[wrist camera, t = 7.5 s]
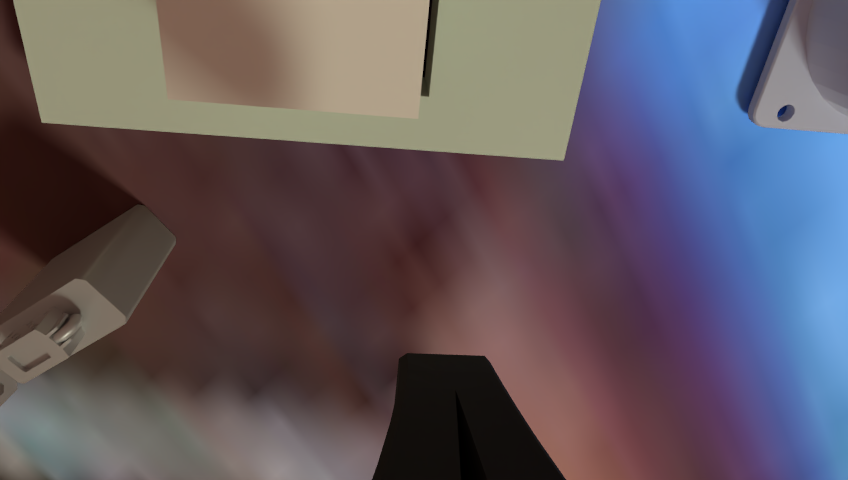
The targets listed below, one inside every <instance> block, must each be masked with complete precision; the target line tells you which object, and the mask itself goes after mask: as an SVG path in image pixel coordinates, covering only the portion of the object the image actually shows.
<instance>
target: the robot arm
mask: <svg viewBox="0 0 848 480" xmlns="http://www.w3.org/2000/svg"><path fill="white" fill-rule="evenodd" d="M785 105H787V110H786V111H785V113H784V114H783V115H781V116H780V117H777V114H778V111H779V110H780V108H782V107H783V106H785ZM748 116H749V119H750V120H751V121H752V122H753V123H755V124H756V125H758V126H761V127H767V128H779V129H792V130H804V131H816V132H829V133H841V134H848V0H789V3H788V6H787V8H786V11H785V14H784V16H783V19H782V21H781V24H780V27H779V29H778V32H777V35H776V37H775V40H774V42H773V45H772V48H771V50H770V53H769V56H768V58H767V61H766V63H765V66H764V69H763V71H762V74H761V76H760V79H759V82H758V84H757V87H756V90H755V92H754V95H753V97H752V100H751V103H750V105H749V109H748ZM372 480H566V479H565V478H564V476H563V475H562V473H561V472H560V470H559V469H558V468H557V466H556V465H555V463H554V462H553V461H552V459H551V458H550V456H549V455H548V453H547V452H546V451H545V449H544V448H543V446H542V445H541V443H540V442H539V440H538V439H537V437H536V436H535V434H534V433H533V431H532V430H531V428H530V427H529V425H528V424H527V422H526V421H525V419H524V418H523V416H522V415H521V413H520V411H519V410H518V408H517V407H516V405H515V404H514V402H513V400H512V399H511V397H510V395H509V394H508V392H507V390H506V389H505V387H504V385H503V384H502V382H501V380H500V379H499V377H498V375H497V374H496V372H495V370H494V368H493V367H492V365H491V363H490V362H489V361H488V359H487V358H486V357H485V356H471V355H442V354H414V353H407V354H405V355H404V356H402V357H401V358H399V364H398V374H397V384H396V394H395V405H394V409H393V413H392V418H391V422H390V425H389V429H388V432H387V435H386V439H385V442H384V445H383V448H382V452H381V455H380V458H379V462H378V465H377V467H376V470H375V473H374V476H373V479H372Z"/></svg>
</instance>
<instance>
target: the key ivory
mask: <svg viewBox="0 0 848 480" xmlns="http://www.w3.org/2000/svg"><path fill="white" fill-rule="evenodd" d="M429 2H430V0H156V7H157V15H158V23H159V31H160V40H161V48H162V56H163V64H164V73H165V81H166V89H167V97H168V100H181V101H193V102H206V103H219V104H232V105H245V106H258V107H271V108H284V109H296V110H309V111H322V112H335V113H348V114H361V115H374V116H386V117H399V118H412V119H418V117H419V106H420V96H421V85H422V75H423V64H424V54H425V43H426V33H427V23H428V12H429Z"/></svg>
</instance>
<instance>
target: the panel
mask: <svg viewBox="0 0 848 480" xmlns="http://www.w3.org/2000/svg"><path fill="white" fill-rule="evenodd" d="M13 2H14V6H15V11H16V15H17V19H18V23H19V28H20V32H21V36H22V40H23V45H24V49H25V53H26V58H27V62H28V66H29V70H30V75H31V79H32V83H33V87H34V92H35V96H36V100H37V104H38V109H39V113H40V117H41V122H42V123H54V124H68V125H82V126H95V127H109V128H123V129H137V130H151V131H164V132H178V133H192V134H206V135H219V136H233V137H247V138H261V139H275V140H288V141H302V142H316V143H330V144H344V145H357V146H371V147H385V148H399V149H412V150H426V151H440V152H454V153H468V154H481V155H495V156H509V157H523V158H536V159H550V160H564V157H565V153H566V149H567V144H568V140H569V136H570V131H571V127H572V123H573V118H574V114H575V110H576V105H577V101H578V97H579V92H580V88H581V84H582V79H583V75H584V71H585V66H586V62H587V58H588V54H589V49H590V45H591V41H592V36H593V32H594V28H595V23H596V19H597V15H598V10H599V6H600V2H601V0H432V9H431V19H430V30H429V40H428V50H427V60H426V70H425V78H424V77H422V85H421V96H420V106H419V117H418V119H412V118H399V117H386V116H374V115H361V114H348V113H335V112H322V111H309V110H296V109H284V108H271V107H258V106H245V105H232V104H219V103H206V102H193V101H181V100H168V97H167V89H166V81H165V73H164V64H163V56H162V48H161V40H160V31H159V23H158V15H157V7H156V0H13Z"/></svg>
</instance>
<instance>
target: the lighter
mask: <svg viewBox="0 0 848 480" xmlns="http://www.w3.org/2000/svg"><path fill="white" fill-rule="evenodd" d="M175 244H176V237H175V236H174V235H173V234H172V233H171V232H170V231H169V230H168V229H167V228H166V227H165V226H164V225H163V224H162V223H161V222H160V220H159V219H158V218H157V217H156V216H155V215H154V214H153V213H152V212H151V211H150V210H149V209H148V208H147V207H146V206H143V205H138V204H137V205H136V206H134V207H133V208H131V209H130V210H128V211H126V212H125V213H123V214H122V215H120V216H119V217H117V218H115V219H114V220H112V221H111V222H109V223H108V224H106V225H104V226H103V227H101V228H100V229H98V230H97V231H95V232H93V233H92V234H90V235H89V236H87V237H86V238H84V239H83V240H81V241H79V242H78V243H76V244H75V245H73V246H72V247H70V248H68V249H67V250H65V251H64V252H62V253H61V254H59V255H57V256H56V257H54V258H53V259H52V260H51V261H50V262H49V263H48V264H47V265H46V266H45V267H44V268H43V269H42V270H41V271H40V272H39V273H38V274H37V275H36V277H35V278H34V279H33V280H32V281H31V282H30V283H29V284H28V285H27V286H26V287H25V288H24V289H23V290H22V291H21V292H20V293H19V294H18V295H17V297H16V298H15V299H14V300H13V301H12V302H11V303H10V304H9V305H8V306H7V307H6V308H5V309H4V310H3V311H2V312H1V313H0V406H1V405H2V404H3V403H4V402H5V401H6V400H7V399H8V398H9V397H10V396H11V395H12V394H13V393H14V392H15V391H16V390H17V382H19V383H23V384H24V383H26V382H28V381H29V380H31V379H33V378H34V377H36V376H38V375H40V374H41V373H43V372H45V371H46V370H48V369H50V368H52V367H53V366H55V365H57V364H58V363H60V362H62V361H64V360H65V359H67V358H69V357H70V356H71V355H73V354H74V353H76V352H78V351H79V350H81V349H83V348H85V347H86V346H88V345H90V344H91V343H93V342H95V341H97V340H98V339H100V338H102V337H103V336H105V335H107V334H109V333H110V332H112V331H114V330H115V329H117V328H119V327H121V326H122V325H124V324H126V322H127V321H128V319H129V317H130V316H131V314H132V313H133V311H134V309H135V308H136V306H137V305H138V303H139V301H140V300H141V298H142V297H143V295H144V293H145V292H146V290H147V289H148V287H149V285H150V284H151V282H152V281H153V279H154V277H155V276H156V274H157V273H158V271H159V269H160V268H161V266H162V265H163V263H164V261H165V260H166V258H167V257H168V255H169V253H170V252H171V250H172V249H173V247H174V245H175Z"/></svg>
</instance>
